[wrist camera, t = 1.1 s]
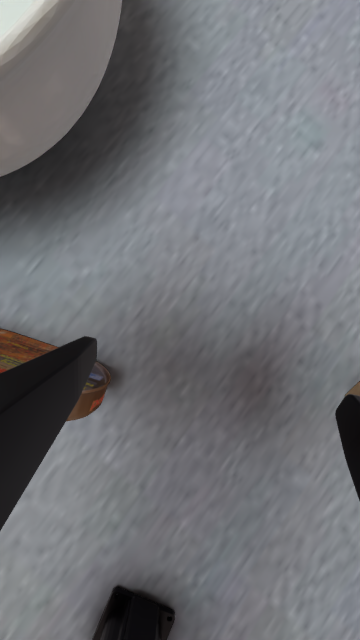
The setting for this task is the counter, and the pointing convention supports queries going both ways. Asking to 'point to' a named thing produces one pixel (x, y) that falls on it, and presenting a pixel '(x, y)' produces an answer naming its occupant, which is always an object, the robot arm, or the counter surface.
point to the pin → (355, 390)
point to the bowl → (49, 70)
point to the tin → (14, 349)
